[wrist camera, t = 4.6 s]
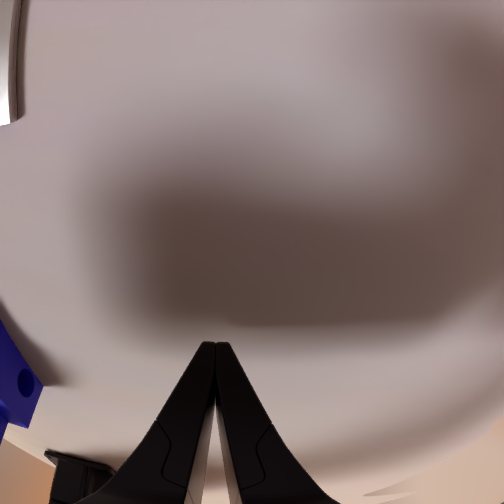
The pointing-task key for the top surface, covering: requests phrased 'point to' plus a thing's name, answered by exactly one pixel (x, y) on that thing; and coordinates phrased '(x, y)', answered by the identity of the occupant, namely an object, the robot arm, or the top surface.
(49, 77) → the top surface
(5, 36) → the steel strip
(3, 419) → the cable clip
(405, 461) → the top surface
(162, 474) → the robot arm
